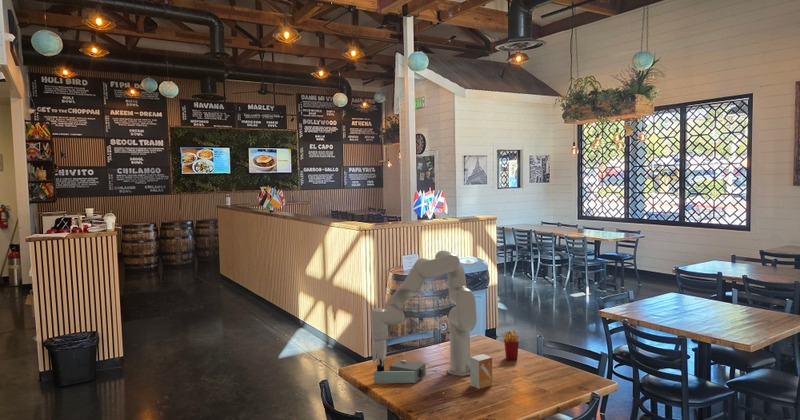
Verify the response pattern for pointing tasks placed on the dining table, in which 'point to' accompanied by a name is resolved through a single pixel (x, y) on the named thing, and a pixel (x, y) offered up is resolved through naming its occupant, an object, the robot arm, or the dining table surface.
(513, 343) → the french fries
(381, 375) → the door
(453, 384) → the dining table surface
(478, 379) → the small box
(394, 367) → the box
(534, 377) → the dining table surface
